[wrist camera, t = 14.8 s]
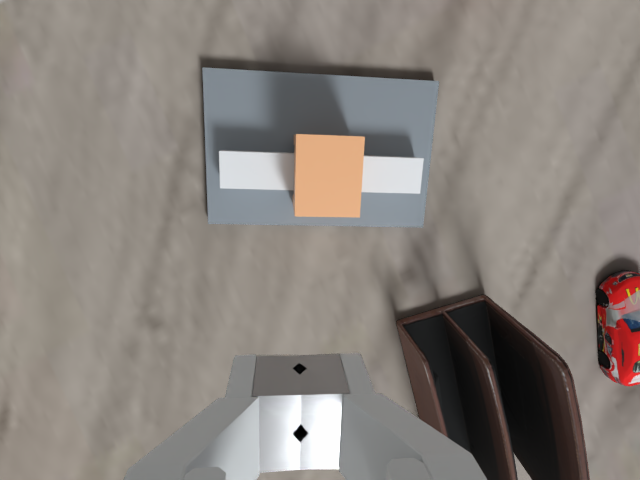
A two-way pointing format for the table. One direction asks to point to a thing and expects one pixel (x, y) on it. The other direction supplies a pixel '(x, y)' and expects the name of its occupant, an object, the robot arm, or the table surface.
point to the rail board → (315, 119)
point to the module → (328, 175)
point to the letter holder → (495, 390)
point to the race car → (620, 327)
